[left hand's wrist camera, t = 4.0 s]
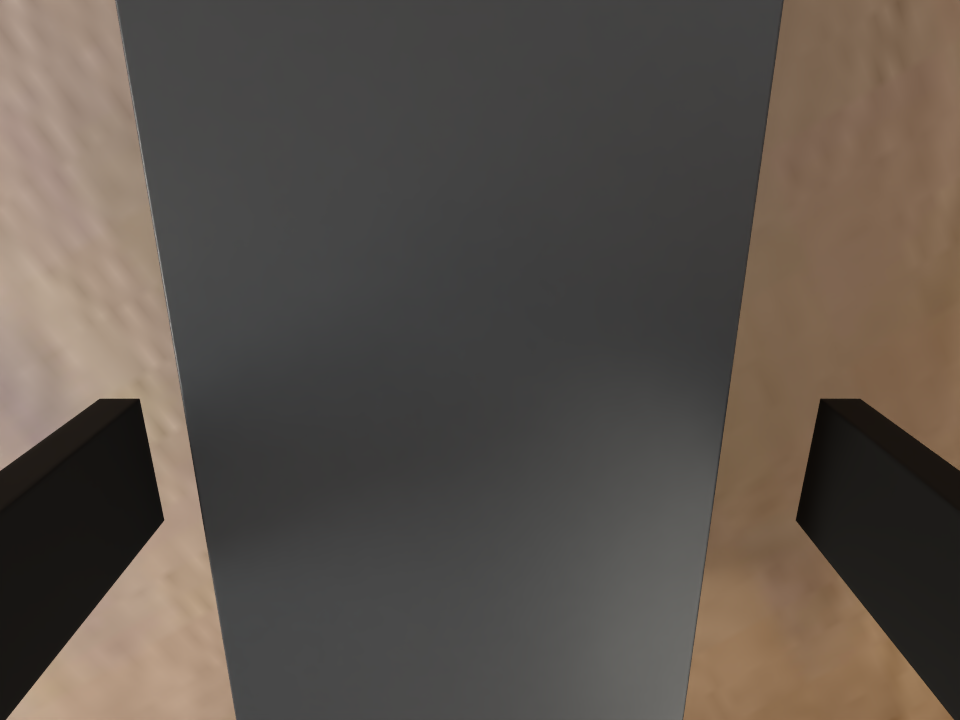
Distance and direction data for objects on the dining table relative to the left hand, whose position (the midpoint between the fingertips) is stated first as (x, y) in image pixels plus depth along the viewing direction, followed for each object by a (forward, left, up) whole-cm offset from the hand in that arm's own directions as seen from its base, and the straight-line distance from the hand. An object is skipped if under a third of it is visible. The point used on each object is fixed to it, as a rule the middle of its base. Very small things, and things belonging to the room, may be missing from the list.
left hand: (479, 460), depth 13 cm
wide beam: (+28, 0, -5) cm, 28 cm away
